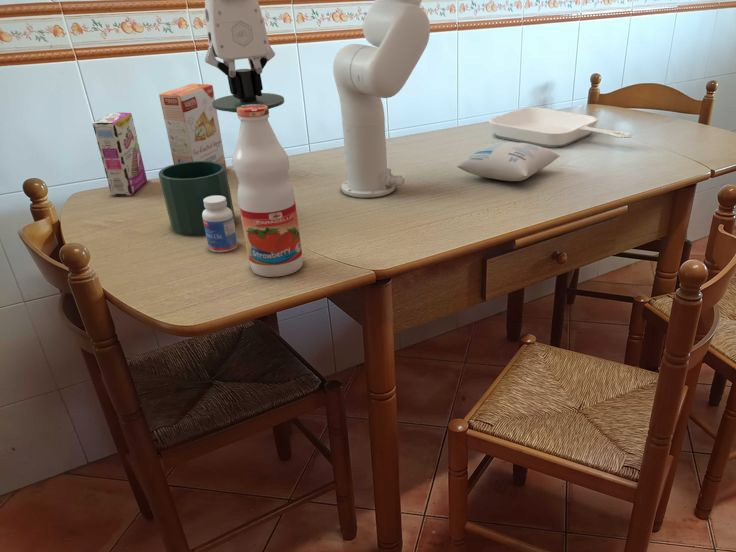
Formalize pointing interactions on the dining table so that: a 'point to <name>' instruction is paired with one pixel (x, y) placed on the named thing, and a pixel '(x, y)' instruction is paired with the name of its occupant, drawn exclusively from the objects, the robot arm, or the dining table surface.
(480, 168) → the pouch
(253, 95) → the lid
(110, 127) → the candy bar box
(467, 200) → the dining table surface
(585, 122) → the pan
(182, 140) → the cracker box
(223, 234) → the pill bottle
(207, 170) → the pot
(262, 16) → the robot arm
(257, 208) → the fruit juice
